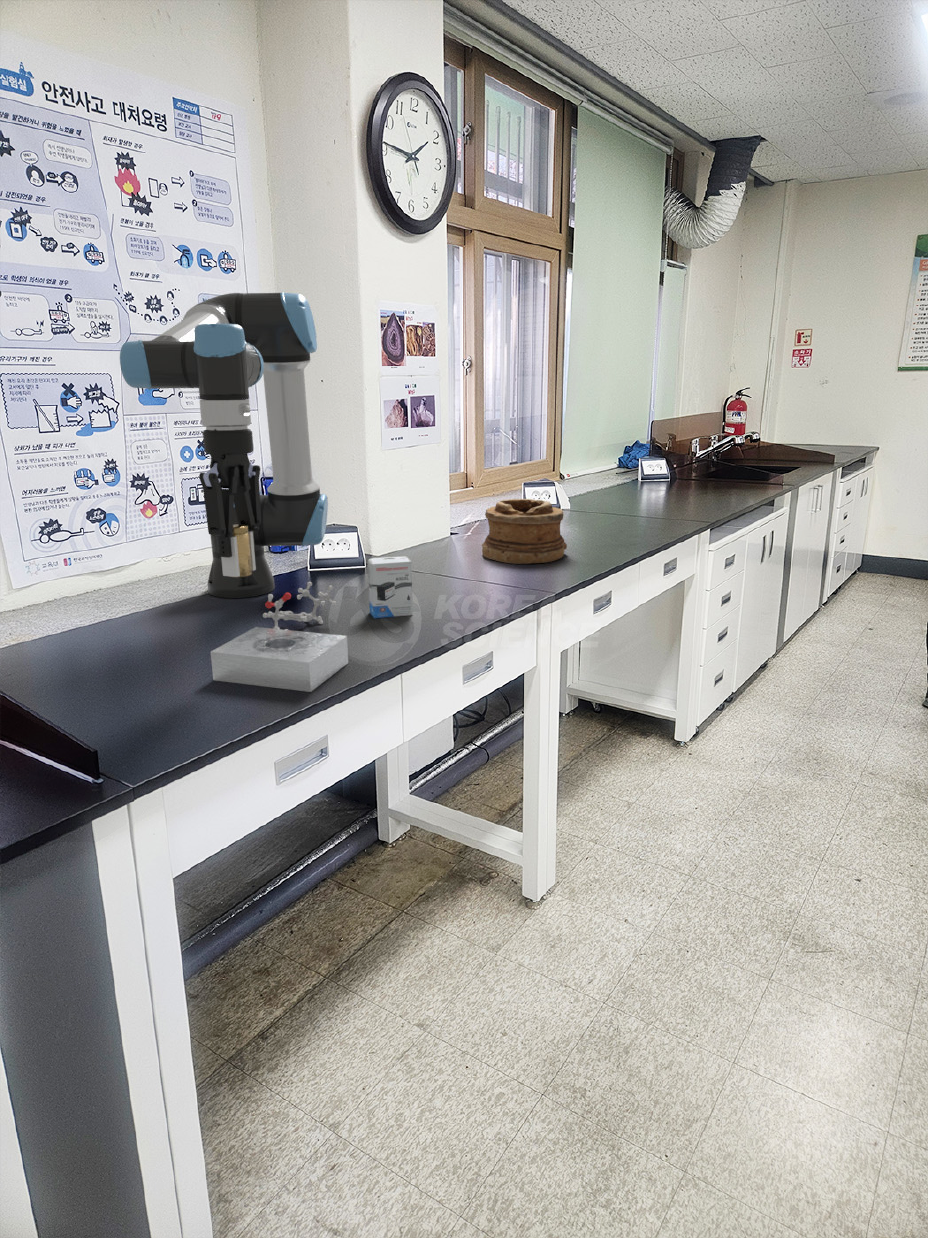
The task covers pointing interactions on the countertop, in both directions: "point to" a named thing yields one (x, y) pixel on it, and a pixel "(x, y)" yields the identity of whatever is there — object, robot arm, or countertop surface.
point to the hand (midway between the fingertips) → (239, 572)
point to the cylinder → (243, 549)
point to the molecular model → (302, 616)
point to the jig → (280, 658)
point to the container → (524, 532)
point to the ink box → (390, 587)
